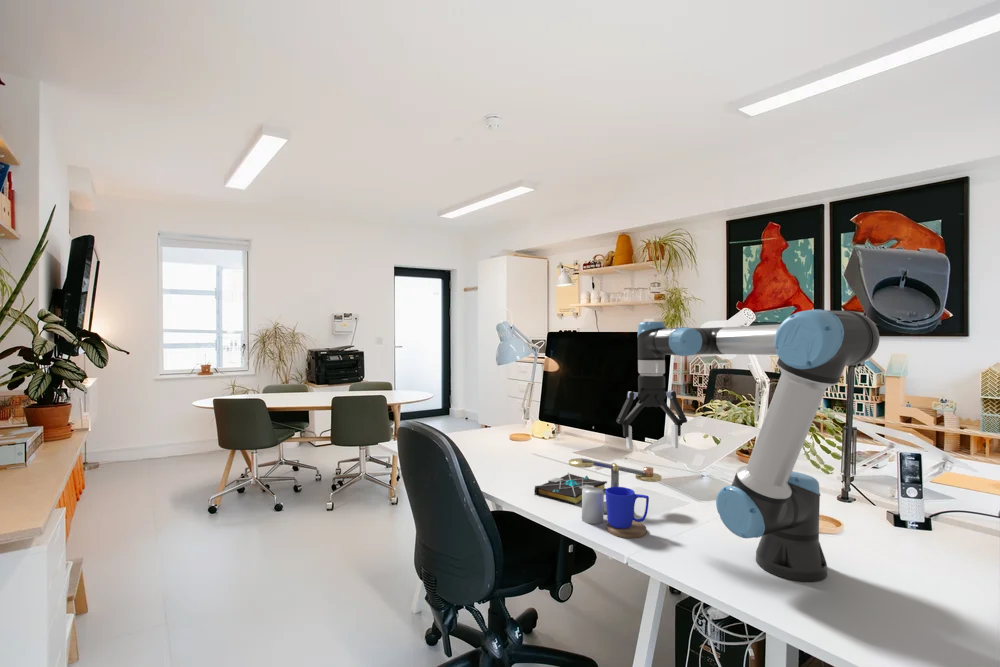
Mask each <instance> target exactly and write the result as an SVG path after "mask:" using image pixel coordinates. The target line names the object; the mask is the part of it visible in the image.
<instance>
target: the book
mask: <svg viewBox="0 0 1000 667" xmlns="http://www.w3.org/2000/svg"><path fill="white" fill-rule="evenodd" d="M606 484H608V481H607V480H604V481H603V480H597V479H596V480H595V479H592V478H589V477H588V475H586V476H584V477H583V476H579V475H576V474H572V473H570V472H569V471H568V472H567V474H565V475H563V476H561V477H553V478H551V479H549V480H548V482H545V483H543V484H540V485H534V493H533V494H534V496H541V497H544V498H545V497H546V498H550V499H554V500H556V501H561V502H564V503H567V504H570V505H574V506H577V505H579V504H580V503H582V489H583V488H586V487H596V488H600V489H602V490H603V491H604V492H605V491H606V489H607V488H605V485H606Z"/></svg>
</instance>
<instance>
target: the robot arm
mask: <svg viewBox="0 0 1000 667" xmlns="http://www.w3.org/2000/svg"><path fill="white" fill-rule="evenodd" d="M665 325H666V324H665V322H663V321H640V322H639V323H638V325H637V336H636V337H637V372H638V374H639V375H638V377H637V388H638V389H637V392H635V391H629V390H628V391H627V392H626V400H625V402H624V404H623V405H622V407H621V410H620V412H619V414H618V416H617V418H616V421H615V422H616V423H617V424H619V425H622V434H623V435H622V436H623V437H624V438H626V439H625V440H626V441H625V442H626V443H625V446H626V448H627V449H628V450H633V433H632V432H633V428H632V426H631V423H632V422H633V421H634V420H635V419H636V417H637V416H638V415H639V414H640V413H641V411H642V410H644V408H646V407H647V408H651V407H654V408H658V407H660V408H661V410H662V411H663V412H664V413H665V414H666V415H667V417H668V418H669V419H670V420H671V421H672V422H673V423H671V427H670V428H671V447H672V448H674V449H678V448H679V437H681V434H682V432H681V431H682V430H681V429H682V428H681V427H682V426H683V424H686V423H687V422H688V419H687V417H686V415H685V413H684V410H683V409H682V407H681V405H680V404H681V403H679V402H680V401H679V400H678V398H677V393H676V392H677V391H674V390H669V391H666V376H665V373H666V360H665V359H666V356H667V355H668V356H679V357H680V356H681V357H689V356H690V357H691V356H696V355H698V356H699V355H751V356H752V355H754V356H755V355H762V356H766V355H768V356H769V355H770V356H773V355H775V356H778V359H777V362H776V365H777V367H778V370H779V371H780V373H781V374H780V377H779V379H778V382H777V384H776V387H775V390H774V393H773V394H772V395H773V396H772V399H771V401H770V403H769V406H768V409H767V412H766V414H765V417H764V419H763V422H762V425H761V427H760V429H759V432H758V436H757V438H756V440H755V443H754V446H753V449H752V451H751V454H750V457H749V459H748V462H747V465H742V466H740V467H738V469H737V470H736V473H735V476H734V478H733V481H732V484H730V485H725V486H724V487H722V488H721V489H720V490H719V491H718V493H717V495H716V501H715V503H716V504H715V505H716V510H717V513H718V514H719V517H720V520H721V522H722V523H723V525H724V526H725V527H726V529H728V530H729V531H730V532H731V533H732V534H733V535H735V536H737V537H739V538H741V539H753V538H754V539H758V538H760V540H759V542H758V546H757V547H756V551H755V561H756V564H757V565H758V567H760V568H761V569H763V570H764V571H766V572H768V573H770V574H772V575H775V576H777V577H780V578H783V579H788V580H791V581H798V582H819V581H822V580H824V579H825V578H827V576H828V564H827V560H826V558H825V554H824V552H823V548H822V546H821V543H820V507H821V506H820V503H821V502H820V499H821V492H820V483H819V481H818V480H817V478H815V477H813V476H811V475H808V474H806V473H801V472H797V471H794V468H795V465H796V462H797V460H798V458H799V456H800V453H801V451H802V449H803V446H804V443H805V441H806V438H807V437H808V433H809V431H810V429H811V426H812V424H813V422H814V420H815V416H816V414H817V412H818V410H819V407H820V404H821V403H822V399H823V397H824V395H825V393H826V390H827V388H830V387H833V386H836V385H837V384H839V381H840V380H841V377H842V374H843V372H844V371H845V367H847V366H855V365H858V364H861V363H864V362H865V361H867V360H869V359H870V358H872V356H873V355H874V354H875V353H876V351H877V350H878V347H879V346H880V345H879V344H880V337H881V336H880V333H879V329H878V327H877V326H876V324H875V323H874V321H873V320H872V319H871V318H869V317H868V316H866V315H865V314H863V313H860V312H857V311H851V310H827V309H826V310H825V309H820V308H818V309H808V310H801V311H797V312H795V313H793V314H791V315H789V316H788V317H786V318H785V319H784V320H783V321H782V322H781V323H780V324H761V325H743V326H741V325H740V326H739V325H738V326H727V327H726V326H724V327H723V326H722V327H717V326H716V327H688V326H685V327H684V326H682V327H668V328H667V327H665ZM666 397H667V398H668V399H669V401H670V403H671V405H672V407H673V409H674V412H675V413H674V412H673V410H671V408H670V407H669V406H668V404H667V403H666V402H665V399H666ZM636 398H638V401H637V402H636V405H635V406H634V407H633V408H632V409H631V407H632V405H633V403H634V400H636ZM630 409H631V411H630ZM629 411H630V412H629ZM676 415H677V416H676Z"/></svg>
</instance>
